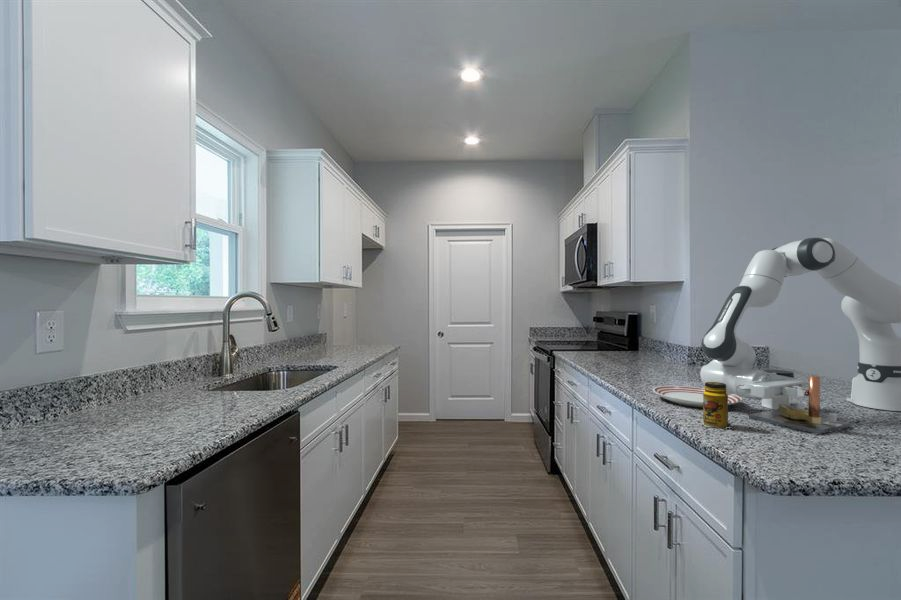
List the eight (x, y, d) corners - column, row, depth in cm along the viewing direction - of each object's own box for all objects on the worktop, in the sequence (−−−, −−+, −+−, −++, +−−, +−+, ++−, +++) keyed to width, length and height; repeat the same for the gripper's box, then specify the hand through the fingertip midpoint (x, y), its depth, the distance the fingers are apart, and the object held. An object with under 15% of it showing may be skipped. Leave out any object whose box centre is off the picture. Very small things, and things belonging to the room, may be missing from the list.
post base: (779, 412, 142) (780, 396, 142) (850, 427, 126) (851, 409, 126) (747, 418, 135) (747, 401, 135) (818, 435, 118) (818, 416, 118)
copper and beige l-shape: (776, 412, 136) (776, 369, 136) (804, 413, 135) (804, 369, 135) (801, 424, 123) (801, 376, 123) (832, 426, 121) (832, 377, 121)
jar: (787, 412, 142) (787, 374, 142) (758, 406, 149) (758, 370, 149) (798, 408, 147) (798, 371, 147) (770, 403, 154) (770, 368, 154)
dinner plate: (727, 396, 166) (727, 387, 166) (755, 414, 140) (755, 404, 140) (647, 391, 174) (647, 383, 174) (659, 408, 148) (659, 398, 148)
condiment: (701, 426, 126) (702, 384, 126) (700, 419, 134) (700, 379, 133) (732, 430, 123) (732, 386, 123) (729, 422, 130) (729, 381, 130)
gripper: (733, 376, 132) (785, 384, 120) (774, 371, 141) (826, 378, 128) (733, 398, 132) (785, 408, 120) (774, 391, 141) (826, 400, 128)
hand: (807, 393), depth 124 cm, fingers closed
